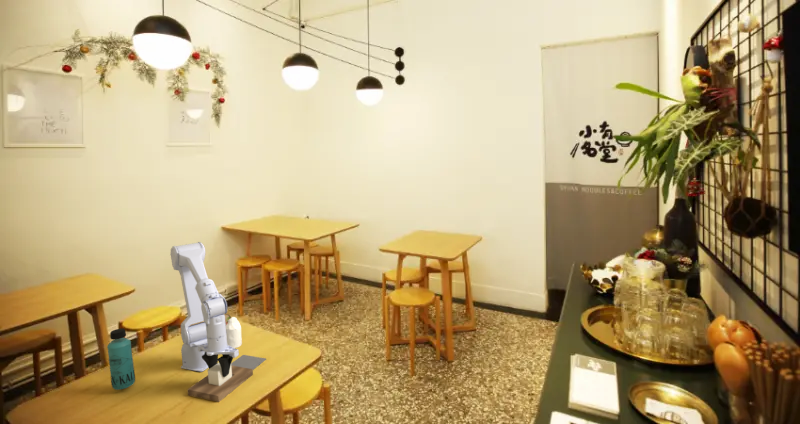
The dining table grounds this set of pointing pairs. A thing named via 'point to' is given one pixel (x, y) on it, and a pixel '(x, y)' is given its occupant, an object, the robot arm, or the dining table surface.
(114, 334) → the beverage bottle
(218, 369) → the plug
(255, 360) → the mat
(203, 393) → the block
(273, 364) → the dining table surface
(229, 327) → the roll
